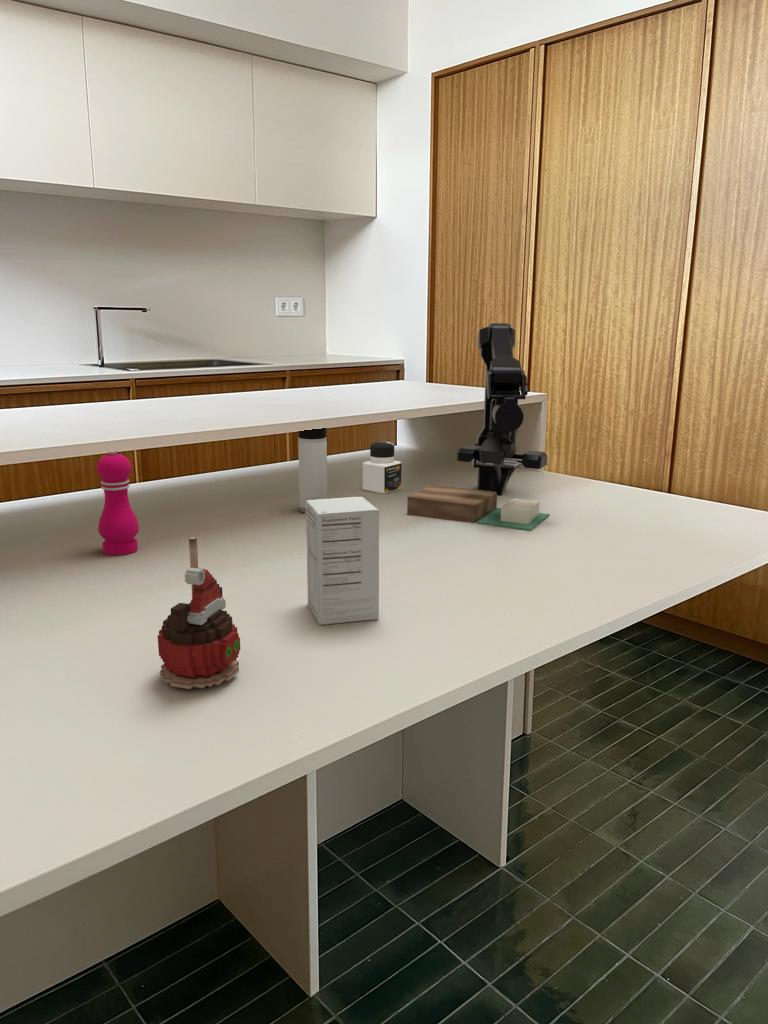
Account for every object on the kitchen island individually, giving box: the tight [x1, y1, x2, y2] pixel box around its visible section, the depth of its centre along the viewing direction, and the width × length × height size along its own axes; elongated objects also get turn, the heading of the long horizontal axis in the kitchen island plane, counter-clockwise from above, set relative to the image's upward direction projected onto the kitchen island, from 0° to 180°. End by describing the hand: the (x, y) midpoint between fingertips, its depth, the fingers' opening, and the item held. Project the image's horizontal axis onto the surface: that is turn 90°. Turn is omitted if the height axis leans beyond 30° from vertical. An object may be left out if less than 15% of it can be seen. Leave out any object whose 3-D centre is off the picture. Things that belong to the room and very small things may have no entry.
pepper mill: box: [96, 451, 140, 556], centre depth 147 cm, size 7×7×20 cm
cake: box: [157, 536, 241, 690], centre depth 97 cm, size 11×9×18 cm
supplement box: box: [305, 496, 380, 626], centre depth 119 cm, size 10×9×17 cm
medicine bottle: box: [362, 441, 403, 495], centre depth 199 cm, size 7×7×12 cm
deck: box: [406, 484, 498, 524], centre depth 179 cm, size 14×16×4 cm
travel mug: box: [297, 427, 328, 514], centre depth 177 cm, size 6×7×20 cm
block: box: [500, 498, 540, 524], centre depth 173 cm, size 9×6×3 cm, turn 155°
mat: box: [475, 507, 550, 532], centre depth 173 cm, size 14×12×1 cm
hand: (499, 495), depth 173 cm, fingers closed
